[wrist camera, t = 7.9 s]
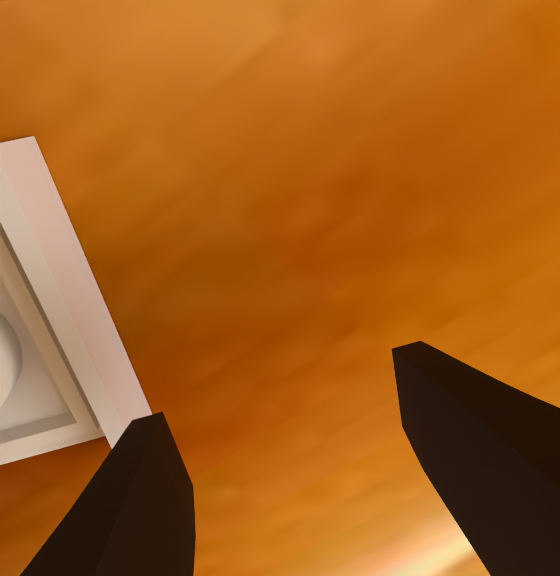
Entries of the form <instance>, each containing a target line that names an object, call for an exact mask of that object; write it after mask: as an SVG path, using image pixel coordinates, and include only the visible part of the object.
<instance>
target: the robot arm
mask: <svg viewBox="0 0 560 576" xmlns="http://www.w3.org/2000/svg"><path fill="white" fill-rule="evenodd" d="M392 354H393V362H394V369H395V376H396V384H397V391H398V398H399V405H400V413H401V420H402V427H403V429H404V431H405V433H406V435H407V437H408V439H409V441H410V444H411V446H412V448H413V450H414V452H415V454H416V456H417V458H418V460H419V462H420V464H421V466H422V468H423V470H424V472H425V473H426V475H427V476H428V478H429V480H430V481H431V483H432V484H433V486H434V488H435V489H436V491H437V492H438V494H439V495H440V497H441V499H442V500H443V502H444V503H445V505H446V507H447V508H448V510H449V511H450V513H451V514H452V516H453V517H454V519H455V521H456V522H457V524H458V525H459V527H460V528H461V530H462V531H463V533H464V535H465V536H466V538H467V539H468V541H469V542H470V544H471V545H472V547H473V549H474V550H475V552H476V553H477V555H478V556H479V558H480V559H481V561H482V563H483V564H484V566H485V567H486V569H487V570H488V572H489V573H490V575H491V576H560V408H558V407H556V406H554V405H551V404H549V403H547V402H544V401H542V400H540V399H537V398H535V397H533V396H531V395H528V394H526V393H524V392H522V391H520V390H518V389H515V388H513V387H511V386H509V385H507V384H505V383H503V382H501V381H499V380H497V379H495V378H493V377H491V376H489V375H487V374H485V373H483V372H481V371H479V370H477V369H475V368H473V367H471V366H469V365H467V364H465V363H463V362H461V361H459V360H457V359H455V358H453V357H451V356H449V355H448V354H446V353H444V352H442V351H440V350H438V349H436V348H434V347H432V346H430V345H428V344H426V343H424V342H422V341H418V342H415V343H411V344H407V345H404V346H400V347H396V348H393V349H392ZM195 539H196V534H195V511H194V494H193V485H192V482H191V480H190V477H189V475H188V472H187V470H186V468H185V465H184V463H183V460H182V458H181V455H180V453H179V451H178V448H177V446H176V443H175V441H174V439H173V436H172V434H171V431H170V429H169V426H168V424H167V422H166V419H165V417H164V414H163V412H160V413H156V414H152V415H149V416H145V417H141V418H138V419H134V420H132V421H131V422H130V424H129V425H128V427H127V428H126V429H125V431H124V432H123V434H122V435H121V437H120V438H119V440H118V441H117V443H116V444H115V445H114V447H113V448H112V450H111V451H110V453H109V454H108V456H107V457H106V459H105V460H104V462H103V463H102V465H101V466H100V468H99V469H98V471H97V472H96V474H95V475H94V476H93V478H92V479H91V481H90V482H89V484H88V485H87V486H86V488H85V489H84V491H83V492H82V494H81V495H80V496H79V498H78V499H77V501H76V502H75V504H74V505H73V506H72V508H71V509H70V511H69V512H68V513H67V515H66V516H65V517H64V519H63V520H62V521H61V523H60V524H59V525H58V526H57V528H56V529H55V530H54V532H53V533H52V534H51V536H50V537H49V538H48V540H47V541H46V542H45V544H44V545H43V546H42V548H41V549H40V550H39V552H38V553H37V554H36V555H35V557H34V558H33V559H32V561H31V562H30V563H29V565H28V566H27V567H26V569H25V570H24V571H23V572H22V573H21V575H20V576H193V572H194V556H195Z"/></svg>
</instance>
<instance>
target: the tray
mask: <svg viewBox="0 0 560 576" xmlns="http://www.w3.org/2000/svg"><path fill="white" fill-rule="evenodd" d="M0 313H1V314H2V315H3V316H4V317H5V318H6V320H7V321H8V322H9V324H10V325H11V326H12V328H13V330H14V331H15V333H16V335H17V337H18V340H19V343H20V346H21V351H22V368H21V372H20V376H19V378H18V380H17V382H16V384H15V386H14V387H13V389H12V390H11V392H10V394H9V395H8V397H7V398H6V400H5V401H4V403H3V405H2V406H1V408H0V465H2V464H5V463H9V462H13V461H16V460H20V459H24V458H27V457H31V456H35V455H38V454H42V453H45V452H49V451H53V450H56V449H60V448H64V447H67V446H71V445H74V444H78V443H82V442H85V441H89V440H93V439H96V438H100V437H103V436H106V438H107V440H108V442H109V444H110V446H111V448H113V447H114V445H115V444H116V443H117V441H118V440H119V438H120V437H121V435H122V434H123V432H124V431H125V429H126V428H127V427H128V425H129V424H130V422H131V421H132V420H134V419H138V418H141V417H145V416H149V415H152V412H151V410H150V408H149V405H148V403H147V401H146V398H145V396H144V393H143V391H142V389H141V386H140V384H139V382H138V379H137V377H136V375H135V372H134V370H133V368H132V365H131V363H130V361H129V358H128V356H127V353H126V351H125V349H124V346H123V344H122V342H121V339H120V337H119V335H118V332H117V330H116V328H115V325H114V323H113V321H112V318H111V316H110V313H109V311H108V309H107V306H106V304H105V302H104V299H103V297H102V295H101V292H100V290H99V288H98V285H97V283H96V281H95V278H94V276H93V273H92V271H91V269H90V266H89V264H88V262H87V259H86V257H85V255H84V252H83V250H82V248H81V245H80V243H79V241H78V238H77V236H76V233H75V231H74V229H73V226H72V224H71V222H70V219H69V217H68V215H67V212H66V210H65V208H64V205H63V203H62V201H61V198H60V196H59V193H58V191H57V189H56V186H55V184H54V182H53V179H52V177H51V175H50V172H49V170H48V168H47V165H46V163H45V161H44V158H43V156H42V154H41V151H40V149H39V146H38V144H37V142H36V139H35V137H34V136H31V137H26V138H21V139H17V140H12V141H7V142H2V143H0Z"/></svg>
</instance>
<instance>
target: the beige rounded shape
mask: <svg viewBox="0 0 560 576" xmlns="http://www.w3.org/2000/svg"><path fill="white" fill-rule="evenodd" d="M21 368H22V351H21V346H20V343H19V340H18V337H17V335H16V333H15V331H14V330H13V328H12V326H11V325H10V324H9V322H8V321H7V320H6V318H5V317H4V316H3V315H2V314H1V313H0V408H1V406H2V405H3V403H4V401H5V400H6V398H7V397H8V395H9V394H10V392H11V390H12V389H13V387H14V386H15V384H16V382H17V380H18V378H19V376H20V372H21Z"/></svg>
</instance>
